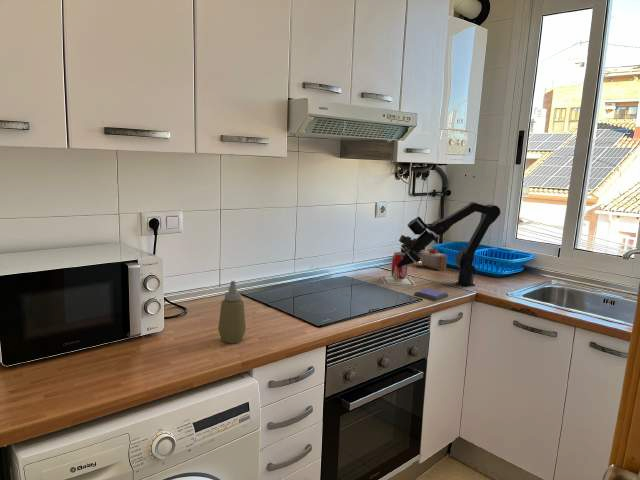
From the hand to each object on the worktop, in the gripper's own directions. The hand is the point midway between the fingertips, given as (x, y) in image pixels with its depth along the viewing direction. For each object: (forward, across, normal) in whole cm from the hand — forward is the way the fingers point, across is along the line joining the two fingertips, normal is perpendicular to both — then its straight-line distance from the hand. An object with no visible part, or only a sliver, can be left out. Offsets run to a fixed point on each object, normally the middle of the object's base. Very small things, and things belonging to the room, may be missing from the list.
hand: (396, 264), depth 217 cm
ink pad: (-2, +22, +14) cm, 26 cm away
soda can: (+4, 0, +6) cm, 7 cm away
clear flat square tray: (+5, 0, +6) cm, 8 cm away
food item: (-12, -33, +24) cm, 43 cm away
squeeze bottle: (+49, +79, -39) cm, 101 cm away
